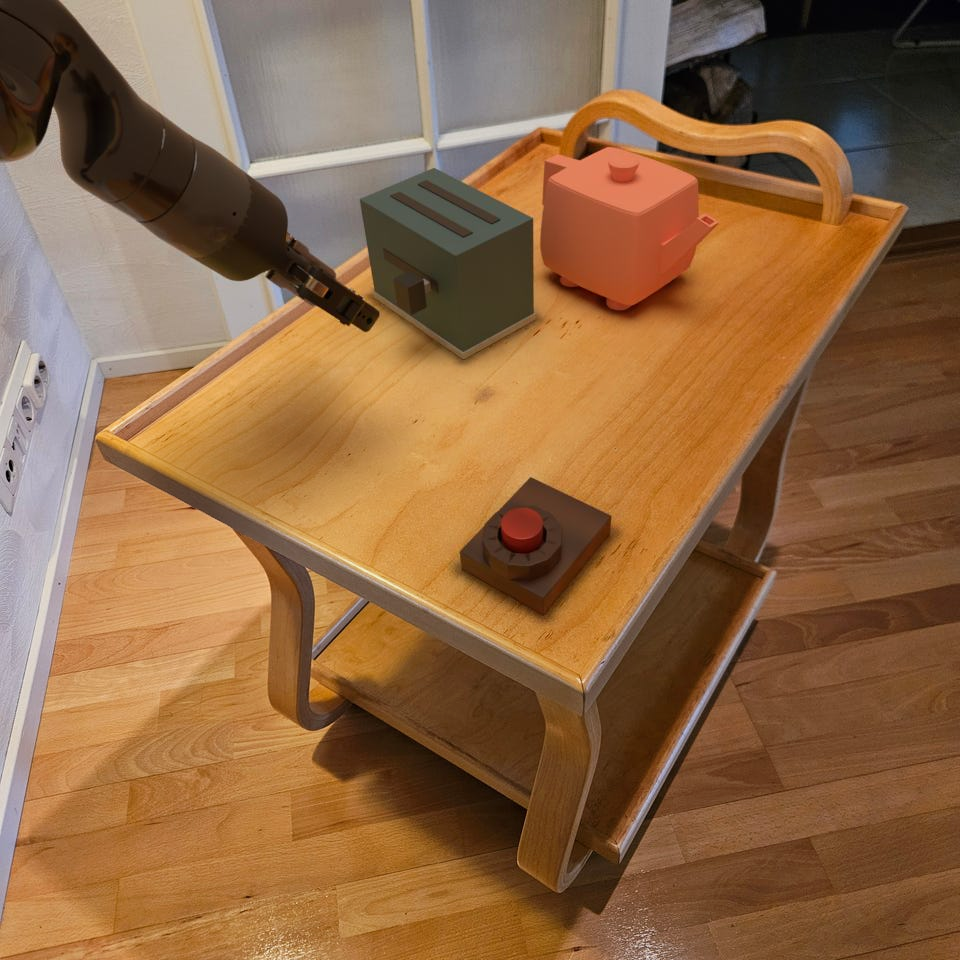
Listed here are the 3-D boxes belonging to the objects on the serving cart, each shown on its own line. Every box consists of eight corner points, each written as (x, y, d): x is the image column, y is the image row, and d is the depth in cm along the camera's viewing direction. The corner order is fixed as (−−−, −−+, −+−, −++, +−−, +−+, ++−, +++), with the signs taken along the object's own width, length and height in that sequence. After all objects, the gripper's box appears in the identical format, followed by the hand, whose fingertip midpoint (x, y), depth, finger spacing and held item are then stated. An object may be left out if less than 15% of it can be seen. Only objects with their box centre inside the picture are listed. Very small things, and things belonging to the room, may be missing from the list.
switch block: (543, 616, 63) (543, 584, 60) (460, 569, 67) (457, 537, 64) (610, 533, 69) (613, 500, 66) (530, 493, 72) (530, 461, 69)
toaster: (463, 360, 86) (455, 255, 77) (372, 296, 95) (356, 197, 86) (536, 319, 90) (536, 216, 82) (443, 262, 100) (434, 164, 91)
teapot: (732, 292, 92) (756, 169, 82) (661, 343, 86) (678, 218, 76) (582, 227, 104) (586, 112, 94) (511, 268, 98) (508, 151, 88)
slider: (411, 315, 83) (407, 288, 80) (397, 305, 84) (393, 278, 82) (436, 302, 84) (433, 275, 82) (422, 293, 85) (418, 266, 83)
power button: (527, 560, 62) (527, 545, 61) (493, 542, 64) (492, 527, 63) (550, 533, 64) (551, 518, 63) (517, 516, 66) (516, 501, 64)
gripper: (288, 203, 57) (417, 301, 71) (192, 133, 64) (325, 234, 78) (227, 293, 58) (366, 372, 72) (139, 214, 65) (280, 299, 79)
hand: (345, 300), depth 75 cm, fingers open, 8 cm apart
